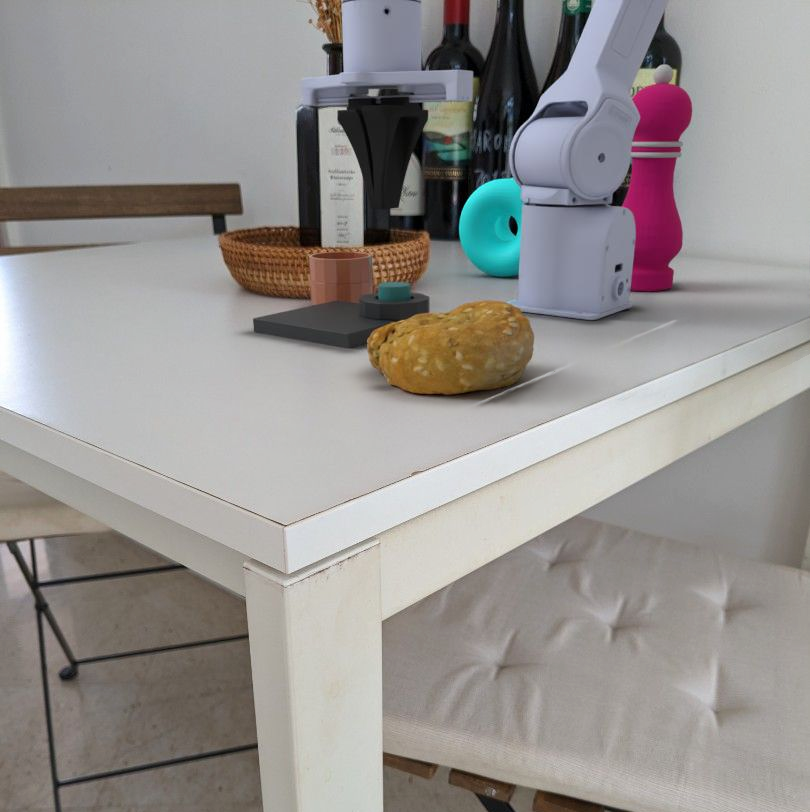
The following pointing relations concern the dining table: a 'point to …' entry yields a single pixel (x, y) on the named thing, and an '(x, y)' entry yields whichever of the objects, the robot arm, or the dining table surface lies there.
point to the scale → (340, 320)
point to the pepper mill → (656, 180)
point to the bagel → (454, 349)
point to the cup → (340, 276)
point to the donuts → (493, 227)
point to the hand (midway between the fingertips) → (384, 208)
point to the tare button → (394, 291)
